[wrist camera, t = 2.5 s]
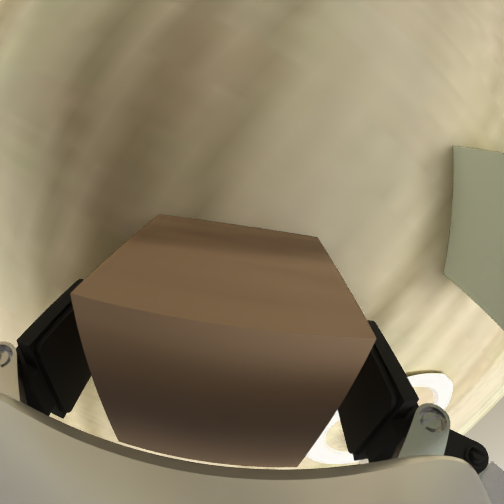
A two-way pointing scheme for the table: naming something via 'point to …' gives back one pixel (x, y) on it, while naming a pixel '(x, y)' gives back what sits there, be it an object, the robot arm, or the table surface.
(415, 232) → the table surface
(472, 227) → the sage cube
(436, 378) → the candle holder
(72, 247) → the table surface
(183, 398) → the walnut cube
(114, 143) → the table surface
